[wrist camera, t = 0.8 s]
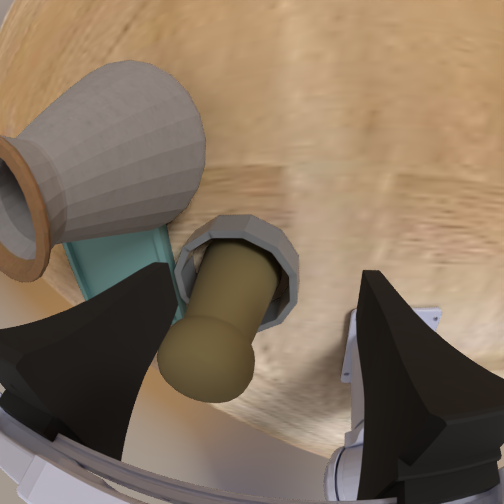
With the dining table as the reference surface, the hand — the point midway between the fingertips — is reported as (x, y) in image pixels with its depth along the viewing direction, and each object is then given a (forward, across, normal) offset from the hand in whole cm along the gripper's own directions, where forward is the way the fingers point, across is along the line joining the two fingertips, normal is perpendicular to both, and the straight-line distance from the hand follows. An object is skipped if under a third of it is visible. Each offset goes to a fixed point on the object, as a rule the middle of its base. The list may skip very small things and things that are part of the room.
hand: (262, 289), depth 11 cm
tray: (+10, +14, +6) cm, 19 cm away
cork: (+10, +4, +6) cm, 12 cm away
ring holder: (+10, +4, +6) cm, 12 cm away
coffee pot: (+10, +15, -4) cm, 19 cm away
